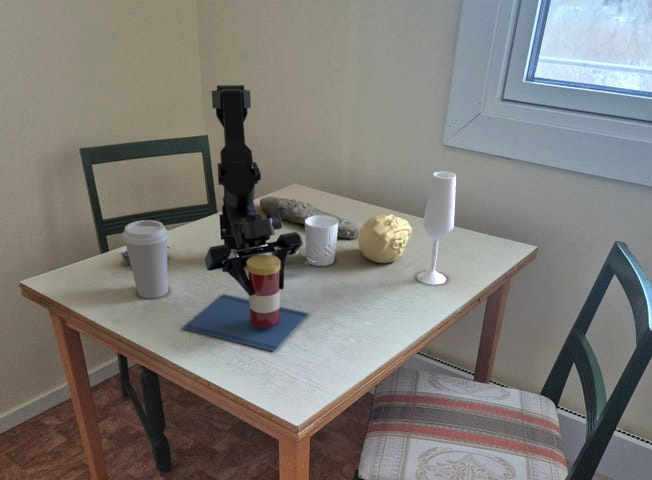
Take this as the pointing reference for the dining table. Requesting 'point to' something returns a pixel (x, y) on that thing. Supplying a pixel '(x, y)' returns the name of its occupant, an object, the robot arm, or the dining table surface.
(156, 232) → the coffee cup
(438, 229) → the champagne flute
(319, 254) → the white cup
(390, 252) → the sculpture
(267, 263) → the jam jar
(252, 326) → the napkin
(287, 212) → the elongated rock
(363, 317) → the dining table surface
